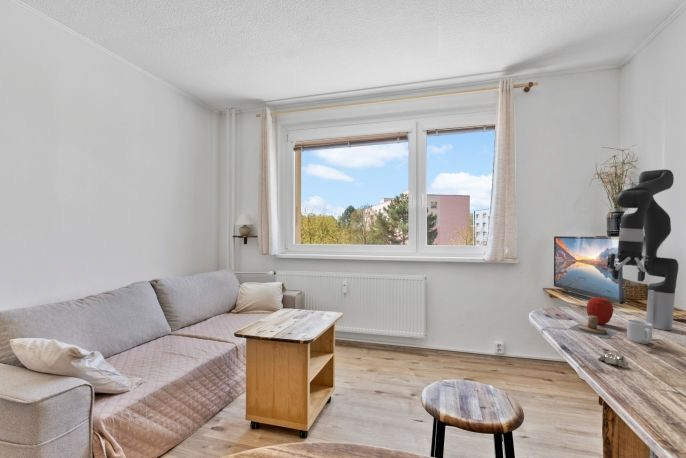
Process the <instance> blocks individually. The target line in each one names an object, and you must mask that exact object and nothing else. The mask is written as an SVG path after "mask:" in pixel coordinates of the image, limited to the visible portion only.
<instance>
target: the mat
mask: <svg viewBox="0 0 686 458" xmlns="http://www.w3.org/2000/svg"><path fill="white" fill-rule="evenodd" d="M580 324H581V323H577V324H575V325H573V326H570V327H569V328H567V330H571V331H575V332H579V333H583V334H586V335H587V334H588V335H592V336H594V337H598V338H599V337H600V338H602V339H606V340H607V339H609V338H611V337H612V336H614V335H615V334H618V333H617V331H613V330H608V329H606V330H607V334H594V333H589V332H585V331H582V330H580V329H579V328H578V325H580Z"/></svg>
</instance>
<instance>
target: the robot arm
mask: <svg viewBox="0 0 686 458" xmlns="http://www.w3.org/2000/svg"><path fill="white" fill-rule="evenodd" d="M674 181H675V179H674V174H673V172H672V171H671V170H670V169H658V170H657V169H656V170H654V169H652V170H645V171H642V172H640V174H639V176H638V184H637V185H635V186H634V187H631V188H627V189H623V190H622V191H620V192H619V193H618V194H617V196H616V205H618V206H619V207H620V208H622V209H636V211H634V212H632V213H625V214H623V215H621V217H620V226H619V227H620V228H619V229H620V230H619V233H618V244H617V245H618V246H617V252H618V253H611V252H610V253H608V256H607V262H606V267H607V268H608V269H611V272H612V273H611V277H612V278H613V279H614V280H617V281H618V280H619V275H620V271H619V270H620V269H621V268H622V267H623V266H632V267H633V266H634V267H635V268H636V269H637V270H638V271H637V281H638V282H644V281H645V279H646V273H647V275H649V276H652V277H660V278H664V279H663V280H662V281H660V282H655V283H649V284H648V289H647V290H648V291H647V304H646V316H645V322H647V323H650V324H652V325H653V328H652V329H657V330H661V331H672V330H673V321H674V309H675V296H676V287H677V279H678V273H679V263H678V260H677V259H675V258H670V257H660V256H659V257H658V256H657V254H658V253H657V252H658V250H659V248H660V246H661V245H662V244H663V243H664V241H666V239H667V238H668V237H669V235H670V234H671V232H672V226H671V225H672V224H671V223H672V221H671V217H670V215H669V213H668V212H667V211H666V210H665V209H664V208H663V207H662V206H661V205H659V203H658V202H657V201H656V199H655V198H654V196H655V195H656V194H659V193H661V192H664V191H668V190H669V189H671V188H672V187H673V185H674ZM644 239H645V241H644ZM644 242H645V255H643V252H644V251H643V250H644ZM616 259H617V261H615V260H616ZM642 261H643V264H642Z"/></svg>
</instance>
